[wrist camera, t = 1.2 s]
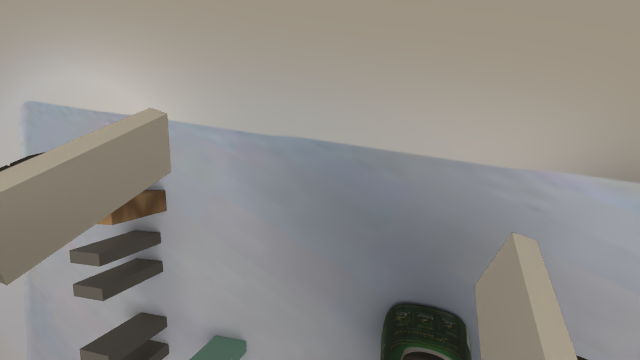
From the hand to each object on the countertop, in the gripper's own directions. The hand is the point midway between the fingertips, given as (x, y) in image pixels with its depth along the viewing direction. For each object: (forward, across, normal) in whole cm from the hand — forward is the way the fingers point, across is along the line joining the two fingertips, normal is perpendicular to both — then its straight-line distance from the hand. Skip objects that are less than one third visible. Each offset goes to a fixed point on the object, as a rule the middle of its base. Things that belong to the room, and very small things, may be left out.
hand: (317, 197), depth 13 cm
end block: (+22, +30, +28) cm, 47 cm away
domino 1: (+20, +28, +33) cm, 48 cm away
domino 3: (+15, +24, +45) cm, 53 cm away
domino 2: (+18, +27, +37) cm, 49 cm away
